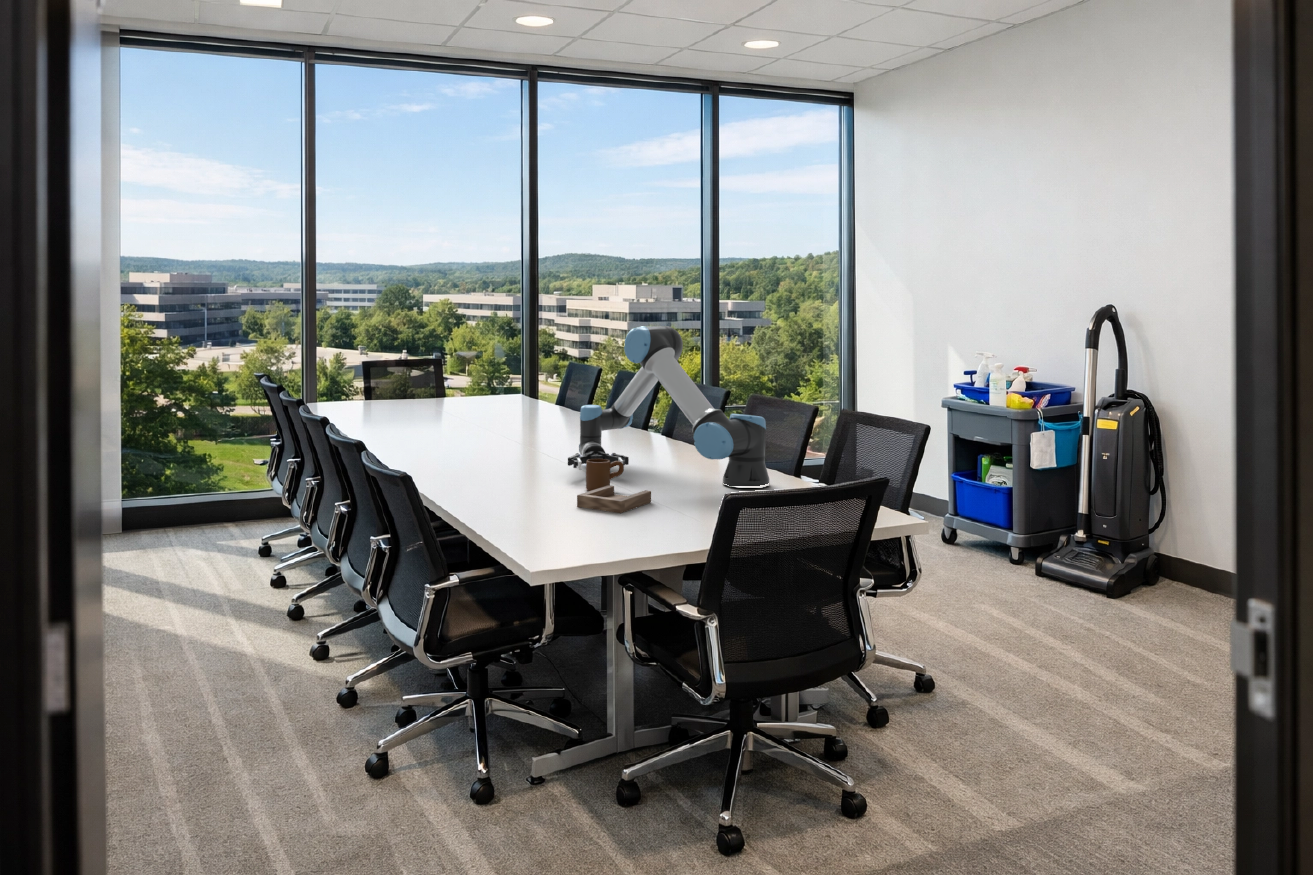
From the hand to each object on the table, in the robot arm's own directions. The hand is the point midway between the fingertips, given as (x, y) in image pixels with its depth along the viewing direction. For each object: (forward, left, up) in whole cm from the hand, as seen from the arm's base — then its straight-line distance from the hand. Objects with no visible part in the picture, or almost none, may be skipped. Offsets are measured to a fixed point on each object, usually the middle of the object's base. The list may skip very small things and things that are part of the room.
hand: (601, 465), depth 325 cm
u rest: (-20, +24, -6) cm, 32 cm away
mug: (-6, +7, -6) cm, 12 cm away
